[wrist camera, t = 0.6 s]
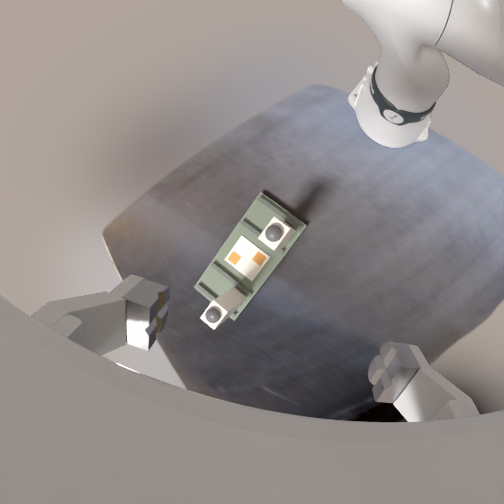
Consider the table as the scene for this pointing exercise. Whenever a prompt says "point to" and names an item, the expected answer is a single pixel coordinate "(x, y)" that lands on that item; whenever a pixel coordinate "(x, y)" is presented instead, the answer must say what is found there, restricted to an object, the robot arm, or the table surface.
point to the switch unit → (247, 254)
